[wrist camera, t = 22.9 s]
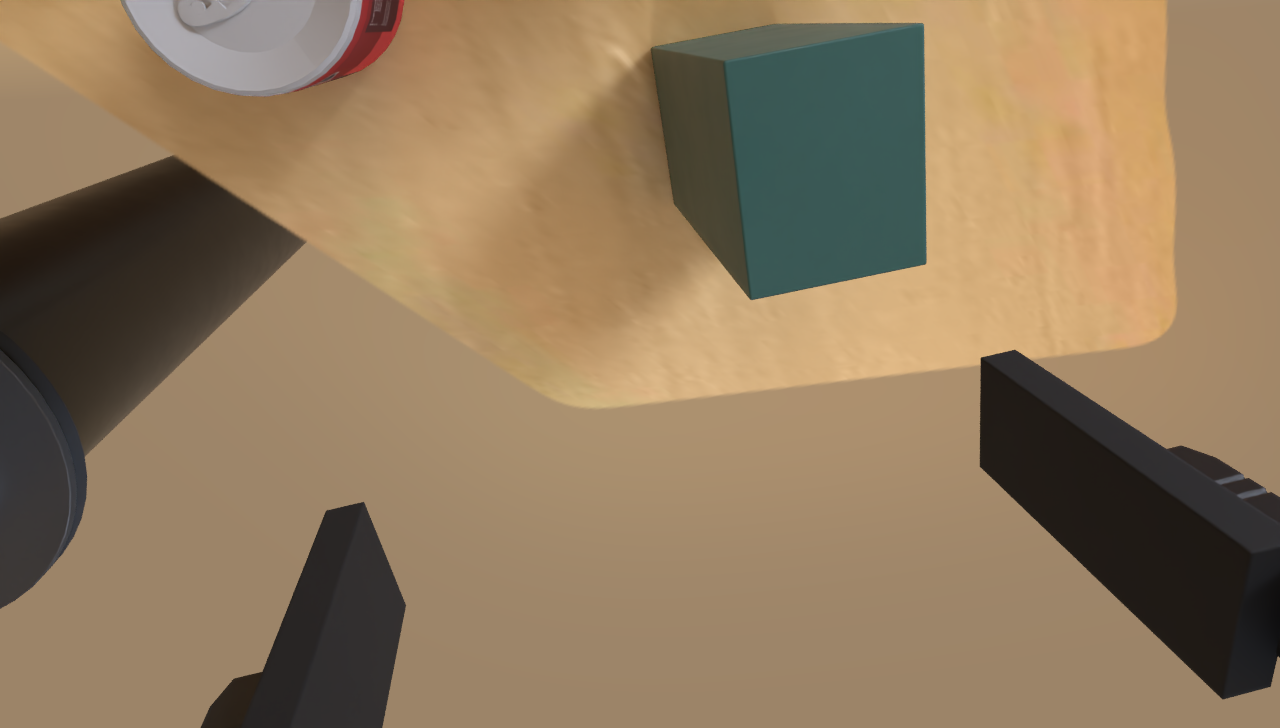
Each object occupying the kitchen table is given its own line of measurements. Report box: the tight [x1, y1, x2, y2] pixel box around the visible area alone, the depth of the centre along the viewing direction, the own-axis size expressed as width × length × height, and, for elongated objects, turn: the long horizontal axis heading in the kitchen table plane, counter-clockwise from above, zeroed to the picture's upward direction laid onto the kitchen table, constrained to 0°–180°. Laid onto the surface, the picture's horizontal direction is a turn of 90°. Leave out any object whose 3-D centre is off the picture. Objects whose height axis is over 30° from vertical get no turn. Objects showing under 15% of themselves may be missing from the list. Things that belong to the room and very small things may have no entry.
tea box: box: [651, 23, 926, 300], centre depth 33 cm, size 6×16×8 cm
